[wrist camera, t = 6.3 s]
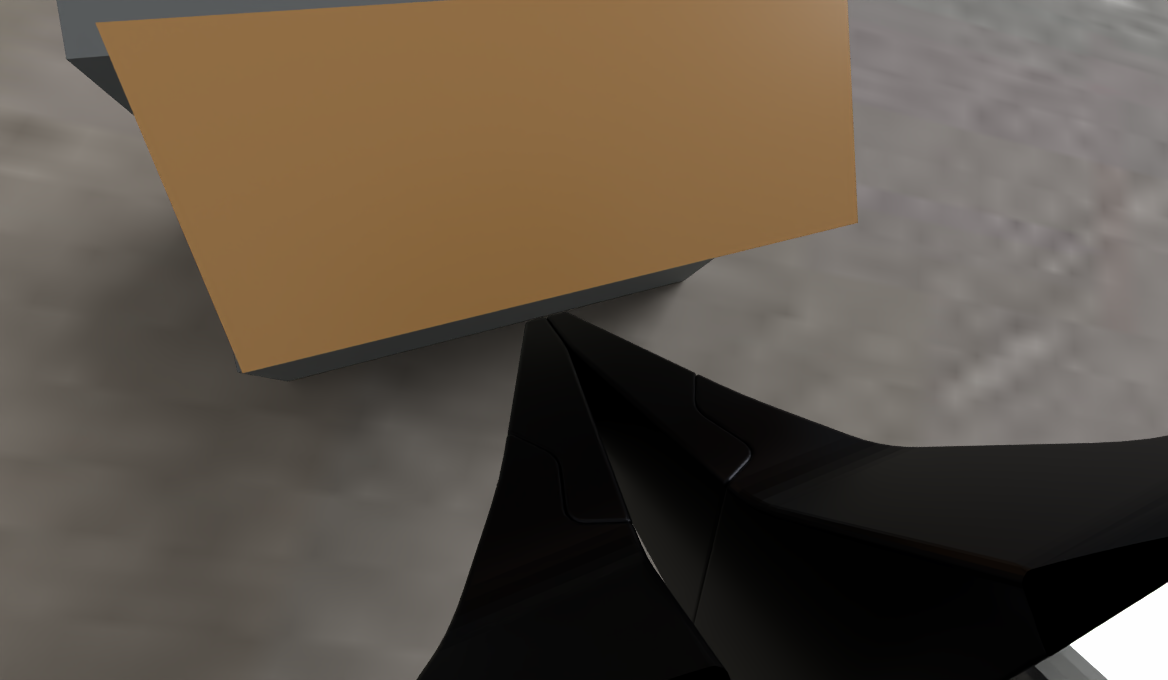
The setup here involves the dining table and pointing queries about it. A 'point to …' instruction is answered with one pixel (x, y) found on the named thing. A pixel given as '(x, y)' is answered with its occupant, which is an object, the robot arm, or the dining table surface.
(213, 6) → the breaker box
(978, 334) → the dining table surface
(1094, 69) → the dining table surface
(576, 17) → the breaker lever
